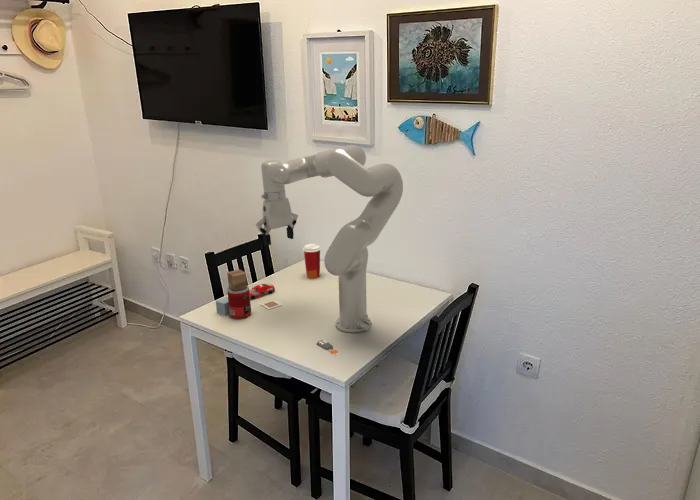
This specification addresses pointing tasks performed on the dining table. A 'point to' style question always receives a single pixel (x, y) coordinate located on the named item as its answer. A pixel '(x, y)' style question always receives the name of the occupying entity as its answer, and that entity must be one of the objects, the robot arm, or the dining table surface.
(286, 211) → the robot arm
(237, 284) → the walnut block
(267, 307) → the swatch
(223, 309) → the slate block
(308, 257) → the paper cup
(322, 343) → the key chain
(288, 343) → the dining table surface
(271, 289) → the race car
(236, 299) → the canned food
